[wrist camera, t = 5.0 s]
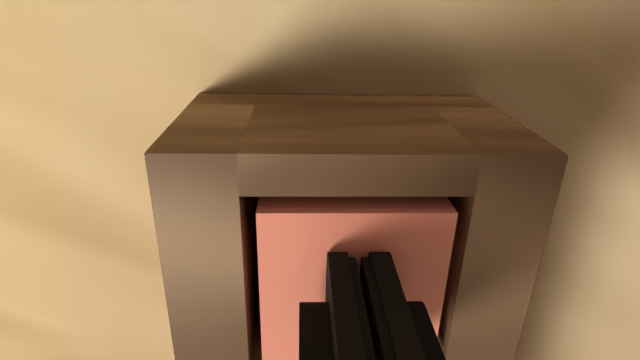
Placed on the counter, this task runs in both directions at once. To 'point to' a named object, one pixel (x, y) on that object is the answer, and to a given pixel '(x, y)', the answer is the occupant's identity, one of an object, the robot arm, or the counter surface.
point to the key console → (348, 181)
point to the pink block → (345, 236)
